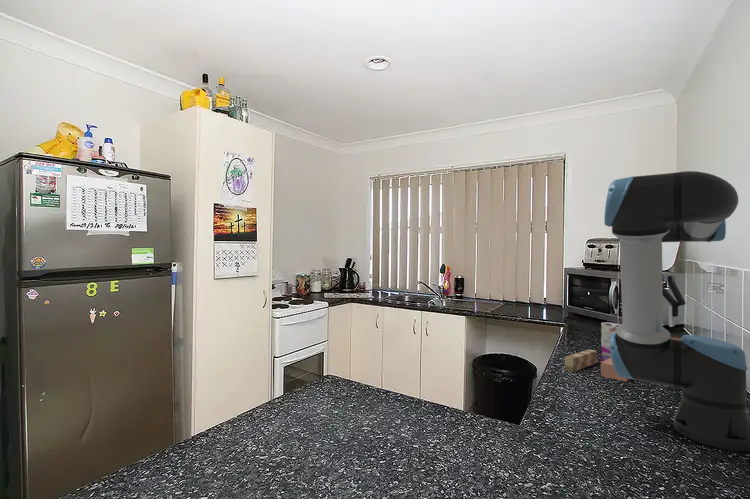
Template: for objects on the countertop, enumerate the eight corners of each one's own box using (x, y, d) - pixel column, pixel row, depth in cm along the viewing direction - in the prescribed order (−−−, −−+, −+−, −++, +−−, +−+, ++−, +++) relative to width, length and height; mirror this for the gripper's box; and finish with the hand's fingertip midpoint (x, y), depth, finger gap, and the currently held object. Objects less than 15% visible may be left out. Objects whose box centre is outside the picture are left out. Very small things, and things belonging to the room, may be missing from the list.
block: (626, 382, 129) (626, 367, 129) (600, 376, 135) (600, 362, 136) (635, 376, 136) (635, 362, 136) (610, 370, 142) (610, 357, 142)
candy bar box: (637, 368, 143) (636, 326, 143) (629, 370, 141) (628, 327, 141) (608, 361, 153) (608, 321, 154) (600, 362, 151) (600, 322, 151)
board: (572, 372, 139) (572, 358, 140) (564, 370, 142) (564, 357, 142) (596, 363, 151) (596, 350, 151) (588, 361, 153) (588, 349, 153)
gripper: (697, 260, 121) (698, 327, 120) (614, 259, 140) (615, 317, 140) (689, 261, 116) (690, 330, 116) (605, 260, 136) (605, 319, 136)
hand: (649, 323), depth 128 cm, fingers open, 12 cm apart
